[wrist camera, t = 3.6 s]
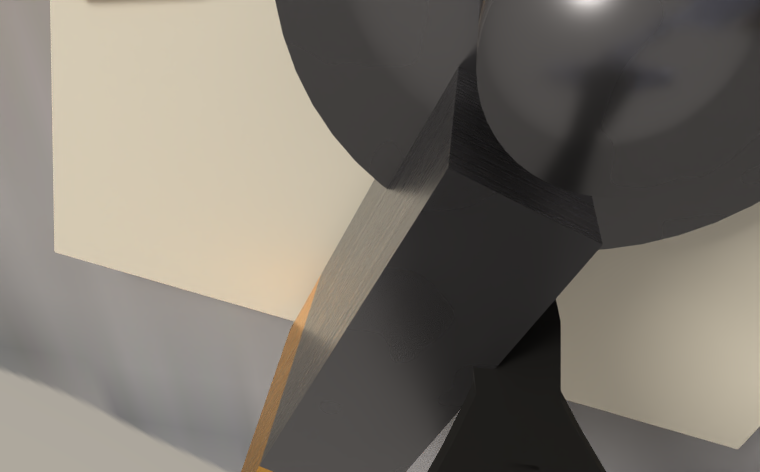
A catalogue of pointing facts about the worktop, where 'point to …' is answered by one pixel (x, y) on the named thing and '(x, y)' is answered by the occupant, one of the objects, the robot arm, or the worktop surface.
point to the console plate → (348, 209)
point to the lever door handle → (492, 190)
